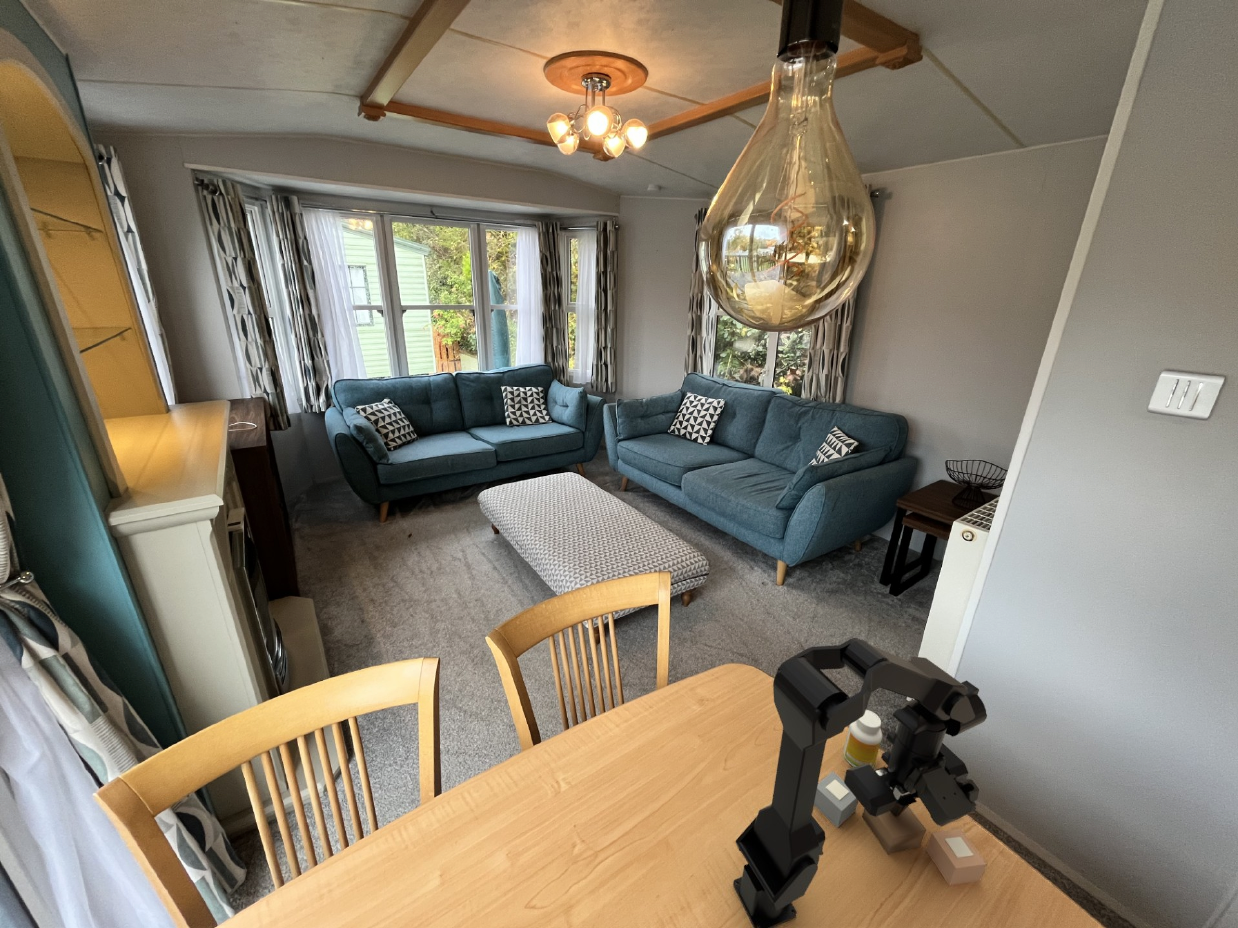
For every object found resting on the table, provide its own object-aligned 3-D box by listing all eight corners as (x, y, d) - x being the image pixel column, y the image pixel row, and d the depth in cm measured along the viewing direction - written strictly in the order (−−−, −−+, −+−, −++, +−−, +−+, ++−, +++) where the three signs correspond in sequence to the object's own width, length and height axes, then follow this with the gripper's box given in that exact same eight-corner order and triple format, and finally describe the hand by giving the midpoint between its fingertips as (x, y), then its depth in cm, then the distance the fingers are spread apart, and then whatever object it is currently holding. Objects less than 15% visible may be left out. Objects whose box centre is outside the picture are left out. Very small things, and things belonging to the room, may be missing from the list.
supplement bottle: (878, 774, 91) (889, 733, 87) (846, 768, 92) (856, 727, 88) (870, 748, 96) (881, 708, 92) (840, 743, 97) (849, 703, 93)
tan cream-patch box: (948, 885, 74) (956, 866, 73) (925, 849, 79) (931, 831, 77) (979, 881, 75) (987, 862, 73) (954, 846, 80) (961, 827, 78)
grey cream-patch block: (837, 828, 82) (841, 809, 80) (810, 802, 85) (814, 784, 84) (855, 811, 84) (860, 793, 83) (828, 787, 88) (833, 769, 87)
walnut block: (887, 855, 78) (893, 837, 77) (861, 817, 83) (866, 800, 82) (920, 846, 79) (926, 829, 78) (892, 809, 85) (897, 792, 83)
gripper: (915, 810, 65) (889, 889, 70) (1017, 769, 70) (985, 844, 76) (851, 738, 74) (832, 812, 80) (945, 708, 80) (922, 779, 86)
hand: (894, 813), depth 80 cm, fingers closed
